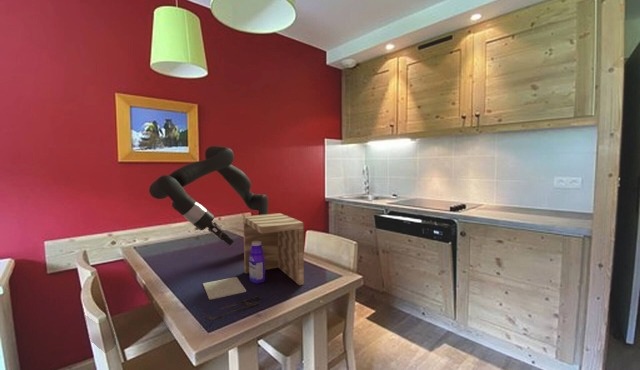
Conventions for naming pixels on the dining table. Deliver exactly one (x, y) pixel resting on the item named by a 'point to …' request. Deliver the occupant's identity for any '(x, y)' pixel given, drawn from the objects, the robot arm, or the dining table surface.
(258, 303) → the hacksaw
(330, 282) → the dining table surface
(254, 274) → the bottle
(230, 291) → the mat
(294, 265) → the wooden slatted crate
